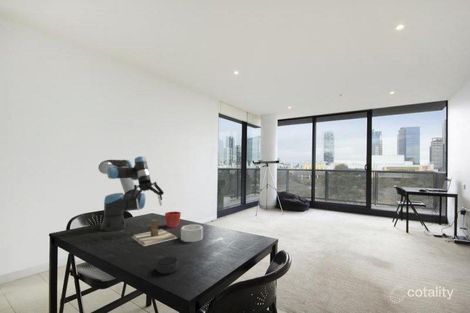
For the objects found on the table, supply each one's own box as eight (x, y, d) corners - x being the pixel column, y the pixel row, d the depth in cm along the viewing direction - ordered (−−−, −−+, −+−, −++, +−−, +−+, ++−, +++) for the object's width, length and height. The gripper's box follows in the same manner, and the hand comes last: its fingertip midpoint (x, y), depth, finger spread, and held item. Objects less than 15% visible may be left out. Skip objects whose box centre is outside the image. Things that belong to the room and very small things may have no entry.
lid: (133, 237, 135) (133, 219, 136) (162, 231, 148) (162, 215, 148) (144, 245, 122) (145, 226, 122) (175, 237, 134) (175, 220, 135)
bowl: (177, 239, 134) (177, 227, 134) (195, 234, 142) (195, 223, 143) (188, 244, 125) (188, 231, 126) (206, 239, 133) (206, 227, 134)
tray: (131, 238, 135) (131, 237, 135) (162, 231, 149) (162, 230, 149) (143, 247, 121) (143, 246, 121) (177, 239, 134) (177, 238, 134)
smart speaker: (170, 263, 102) (170, 254, 102) (182, 269, 96) (182, 260, 96) (152, 270, 95) (152, 260, 95) (163, 277, 90) (164, 267, 90)
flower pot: (173, 223, 168) (173, 210, 168) (183, 226, 161) (183, 212, 162) (161, 227, 159) (161, 213, 159) (171, 229, 153) (171, 215, 153)
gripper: (123, 177, 143) (128, 209, 135) (163, 172, 156) (170, 200, 147) (123, 183, 149) (128, 213, 140) (161, 177, 162) (168, 205, 153)
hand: (149, 207), depth 144 cm, fingers open, 13 cm apart
